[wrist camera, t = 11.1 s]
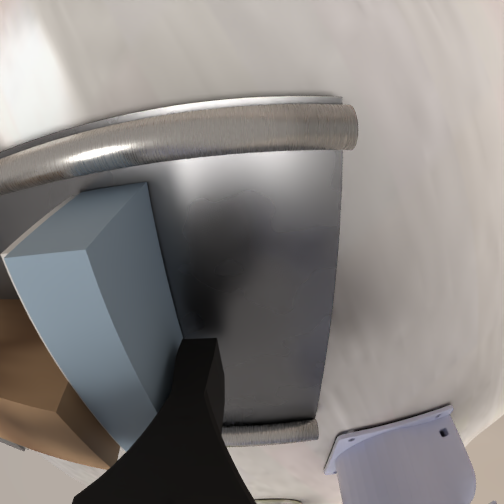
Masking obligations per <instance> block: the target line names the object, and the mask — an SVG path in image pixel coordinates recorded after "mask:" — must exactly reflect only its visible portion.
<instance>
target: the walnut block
mask: <svg viewBox="0 0 504 504" xmlns="http://www.w3.org/2000/svg"><path fill="white" fill-rule="evenodd" d="M0 437H1V438H3V439H6V440H8V441H11V442H13V443H16V444H18V445H21V446H24V447H26V448H29V449H32V450H35V451H38V452H41V453H44V454H47V455H50V456H53V457H57V458H60V459H64V460H67V461H71V462H75V463H79V464H83V465H87V466H91V467H96V468H101V469H106V470H108V469H109V468H110V467H112V466H113V465H114V464H115V463H116V462H117V458H118V454H119V449H120V446H119V445H118V444H117V443H116V441H115V440H114V439H113V438H112V437H111V436H110V435H109V433H108V432H107V431H106V430H105V429H104V428H103V426H102V425H101V424H100V423H99V422H98V420H97V419H96V418H95V417H94V415H93V414H92V413H91V412H90V410H89V409H88V408H87V406H86V405H85V404H84V403H83V401H82V400H81V399H80V397H79V396H78V394H77V393H76V392H75V390H74V389H73V388H72V386H71V385H70V383H69V382H68V381H67V379H66V378H65V376H64V375H63V373H62V372H61V370H60V369H59V367H58V366H57V364H56V363H55V361H54V359H53V358H52V356H51V355H50V353H49V351H48V350H47V348H46V346H45V345H44V343H43V341H42V340H41V338H40V336H39V334H38V333H37V331H36V329H35V327H34V325H33V324H32V322H31V320H30V318H29V316H28V314H27V312H26V310H25V308H24V306H23V304H22V302H21V300H20V299H0Z"/></svg>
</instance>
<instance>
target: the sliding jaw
mask: <svg viewBox="0 0 504 504" xmlns="http://www.w3.org/2000/svg"><path fill="white" fill-rule="evenodd" d="M0 255H1V257H2V260H3V262H4V265H5V267H6V269H7V272H8V274H9V276H10V279H11V281H12V283H13V285H14V288H15V290H16V292H17V294H18V296H19V298H20V300H21V302H22V304H23V306H24V308H25V310H26V312H27V314H28V316H29V318H30V320H31V322H32V324H33V325H34V327H35V329H36V331H37V333H38V334H39V336H40V338H41V340H42V341H43V343H44V345H45V346H46V348H47V350H48V351H49V353H50V355H51V356H52V358H53V359H54V361H55V363H56V364H57V366H58V367H59V369H60V370H61V372H62V373H63V375H64V376H65V378H66V379H67V381H68V382H69V383H70V385H71V386H72V388H73V389H74V390H75V392H76V393H77V394H78V396H79V397H80V399H81V400H82V401H83V403H84V404H85V405H86V406H87V408H88V409H89V410H90V412H91V413H92V414H93V415H94V417H95V418H96V419H97V420H98V422H99V423H100V424H101V425H102V426H103V428H104V429H105V430H106V431H107V432H108V433H109V435H110V436H111V437H112V438H113V439H114V440H115V441H116V443H117V444H118V445H119V446H120V447H121V448H122V449H123V450H124V451H125V452H127V451H128V450H129V448H130V447H131V446H132V445H133V444H134V443H135V441H136V440H137V439H138V438H139V437H140V436H141V434H142V433H143V432H144V431H145V429H146V428H147V427H148V425H149V424H150V423H151V421H152V420H153V419H154V417H155V416H156V414H157V413H158V412H159V410H160V409H161V407H162V405H163V404H164V402H165V401H166V399H167V397H168V396H169V394H170V393H171V390H172V382H173V374H174V366H175V359H176V354H177V351H178V348H179V346H180V343H181V341H182V339H183V336H182V333H181V329H180V326H179V322H178V319H177V315H176V311H175V307H174V304H173V300H172V296H171V292H170V288H169V284H168V280H167V276H166V272H165V268H164V263H163V259H162V255H161V250H160V246H159V241H158V237H157V232H156V227H155V222H154V217H153V212H152V207H151V202H150V197H149V191H148V185H147V182H141V183H134V184H127V185H121V186H114V187H108V188H102V189H96V190H91V191H85V192H81V193H80V194H78V195H72V196H70V197H69V198H67V199H66V200H65V201H63V202H62V203H61V204H59V205H58V206H57V207H55V208H54V209H53V210H52V211H50V212H49V213H48V214H46V215H45V216H44V217H43V218H42V219H40V220H39V221H38V222H37V223H35V224H34V225H33V226H32V227H31V228H29V229H28V230H27V231H26V232H25V233H24V234H22V235H21V236H20V237H19V238H18V239H17V240H16V241H14V242H13V243H12V244H11V245H10V246H9V247H8V248H7V249H6V250H4V251H3V252H2V253H1V254H0Z"/></svg>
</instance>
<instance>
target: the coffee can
mask: <svg viewBox="0 0 504 504" xmlns="http://www.w3.org/2000/svg"><path fill="white" fill-rule="evenodd" d="M255 502H256V503H257V504H302V503H301V502H299V501H296V500H287V499H264V500H255Z"/></svg>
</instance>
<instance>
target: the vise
mask: <svg viewBox="0 0 504 504" xmlns="http://www.w3.org/2000/svg"><path fill="white" fill-rule="evenodd" d="M357 138H358V121H357V116H356V112H355V110H354V108H353V107H352V106H351V105H343V104H342V97H334V96H273V97H252V98H237V99H225V100H215V101H206V102H197V103H190V104H182V105H175V106H169V107H163V108H157V109H151V110H146V111H140V112H135V113H130V114H126V115H121V116H117V117H112V118H108V119H104V120H100V121H96V122H92V123H88V124H84V125H80V126H77V127H73V128H70V129H66V130H63V131H60V132H57V133H53V134H50V135H47V136H44V137H41V138H38V139H35V140H32V141H30V142H27V143H24V144H21V145H19V146H16V147H13V148H11V149H8V150H6V151H3V152H1V153H0V254H1V253H2V252H3V251H4V250H6V249H7V248H8V247H9V246H10V245H11V244H12V243H13V242H14V241H16V240H17V239H18V238H19V237H20V236H21V235H22V234H24V233H25V232H26V231H27V230H28V229H29V228H31V227H32V226H33V225H34V224H35V223H37V222H38V221H39V220H40V219H42V218H43V217H44V216H45V215H46V214H48V213H49V212H50V211H52V210H53V209H54V208H55V207H57V206H58V205H59V204H61V203H62V202H63V201H65V200H66V199H67V198H69V197H70V196H72V195H78V194H80V193H81V192H85V191H91V190H96V189H102V188H108V187H114V186H121V185H127V184H134V183H141V182H147V185H148V191H149V197H150V202H151V207H152V212H153V217H154V222H155V227H156V232H157V237H158V241H159V246H160V250H161V255H162V259H163V263H164V268H165V272H166V276H167V280H168V284H169V288H170V292H171V296H172V300H173V304H174V307H175V311H176V315H177V319H178V322H179V326H180V329H181V333H182V336H183V339H198V338H217V340H218V346H219V351H220V356H221V361H222V365H223V370H224V375H225V406H224V416H223V426H222V438H223V440H224V443H225V445H226V447H246V446H263V445H276V444H286V443H295V442H303V441H311V440H318V435H319V433H318V424H317V420H316V419H315V416H316V411H317V406H318V400H319V395H320V389H321V383H322V378H323V371H324V365H325V359H326V352H327V345H328V338H329V331H330V323H331V315H332V307H333V298H334V289H335V279H336V268H337V257H338V244H339V230H340V213H341V191H342V154H343V150H353V149H354V147H355V146H356V143H357ZM0 299H20V298H19V296H18V294H17V292H16V290H15V288H14V285H13V283H12V281H11V279H10V276H9V274H8V272H7V269H6V267H5V265H4V262H3V260H2V257H1V255H0ZM0 442H2V443H5V444H7V445H9V446H12V447H14V448H17V449H20V450H22V451H25V449H27V450H29V448H26V447H24V446H21V445H18V444H16V443H13V442H11V441H8V440H6V439H3V438H1V437H0Z"/></svg>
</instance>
